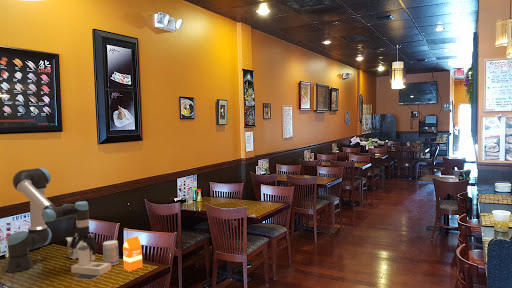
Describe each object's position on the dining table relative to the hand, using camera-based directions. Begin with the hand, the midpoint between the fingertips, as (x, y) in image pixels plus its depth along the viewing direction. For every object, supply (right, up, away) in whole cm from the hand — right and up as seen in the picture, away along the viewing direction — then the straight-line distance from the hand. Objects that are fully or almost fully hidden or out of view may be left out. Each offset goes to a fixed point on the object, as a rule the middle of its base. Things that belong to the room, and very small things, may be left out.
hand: (84, 259), depth 245 cm
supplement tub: (+13, -7, +11) cm, 18 cm away
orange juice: (+31, -6, 0) cm, 32 cm away
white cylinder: (0, -6, 0) cm, 6 cm away
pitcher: (-17, -7, +27) cm, 33 cm away
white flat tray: (+5, -7, -1) cm, 9 cm away
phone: (+7, -8, -12) cm, 16 cm away
